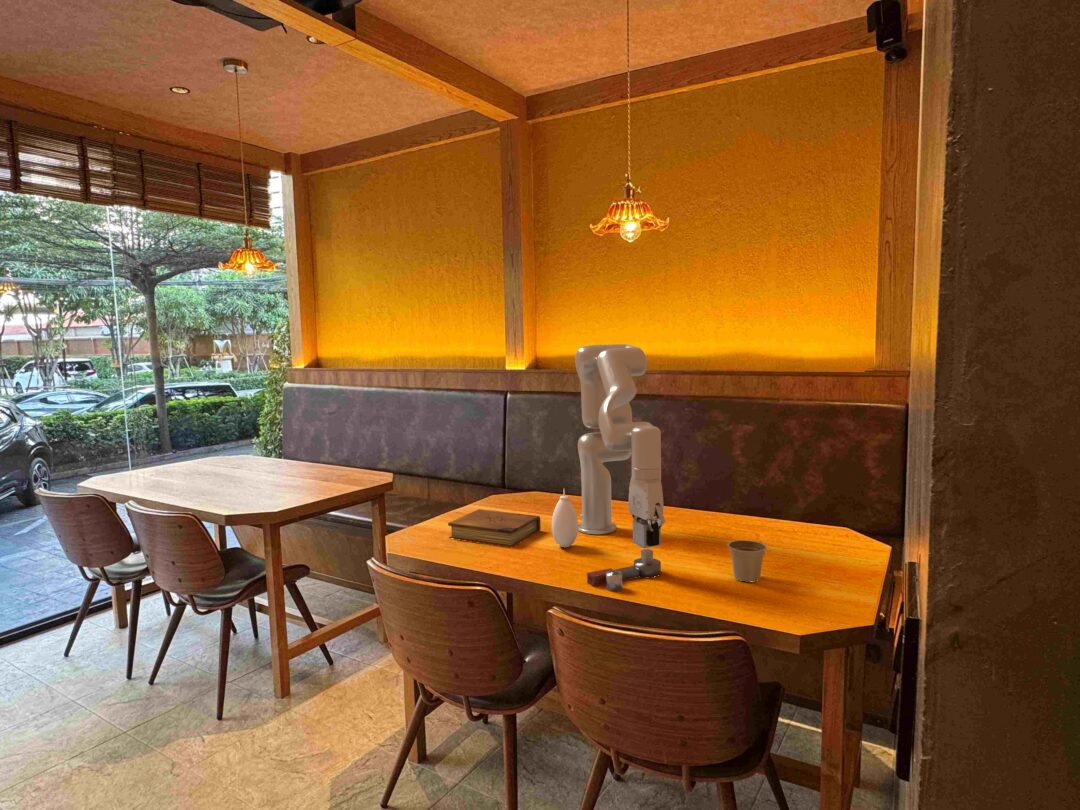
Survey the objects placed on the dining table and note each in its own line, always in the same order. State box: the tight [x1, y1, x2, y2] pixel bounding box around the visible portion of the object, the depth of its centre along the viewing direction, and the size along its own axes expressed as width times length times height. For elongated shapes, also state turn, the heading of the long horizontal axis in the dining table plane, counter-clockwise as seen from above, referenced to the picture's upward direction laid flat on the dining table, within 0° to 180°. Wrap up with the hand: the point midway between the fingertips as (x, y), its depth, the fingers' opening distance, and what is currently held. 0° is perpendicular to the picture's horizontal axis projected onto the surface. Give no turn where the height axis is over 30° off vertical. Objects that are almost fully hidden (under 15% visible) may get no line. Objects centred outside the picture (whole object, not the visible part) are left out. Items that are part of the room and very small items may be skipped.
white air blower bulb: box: [551, 488, 579, 549], centre depth 194 cm, size 8×8×18 cm
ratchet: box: [586, 548, 662, 588], centre depth 168 cm, size 7×20×6 cm, turn 114°
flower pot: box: [727, 539, 768, 583], centre depth 165 cm, size 9×9×9 cm
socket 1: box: [605, 569, 623, 593], centre depth 161 cm, size 4×4×4 cm
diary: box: [447, 508, 542, 548], centre depth 209 cm, size 23×19×6 cm
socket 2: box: [632, 519, 662, 549], centre depth 170 cm, size 5×5×6 cm
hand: (646, 541), depth 170 cm, fingers closed on socket 2, 5 cm apart
